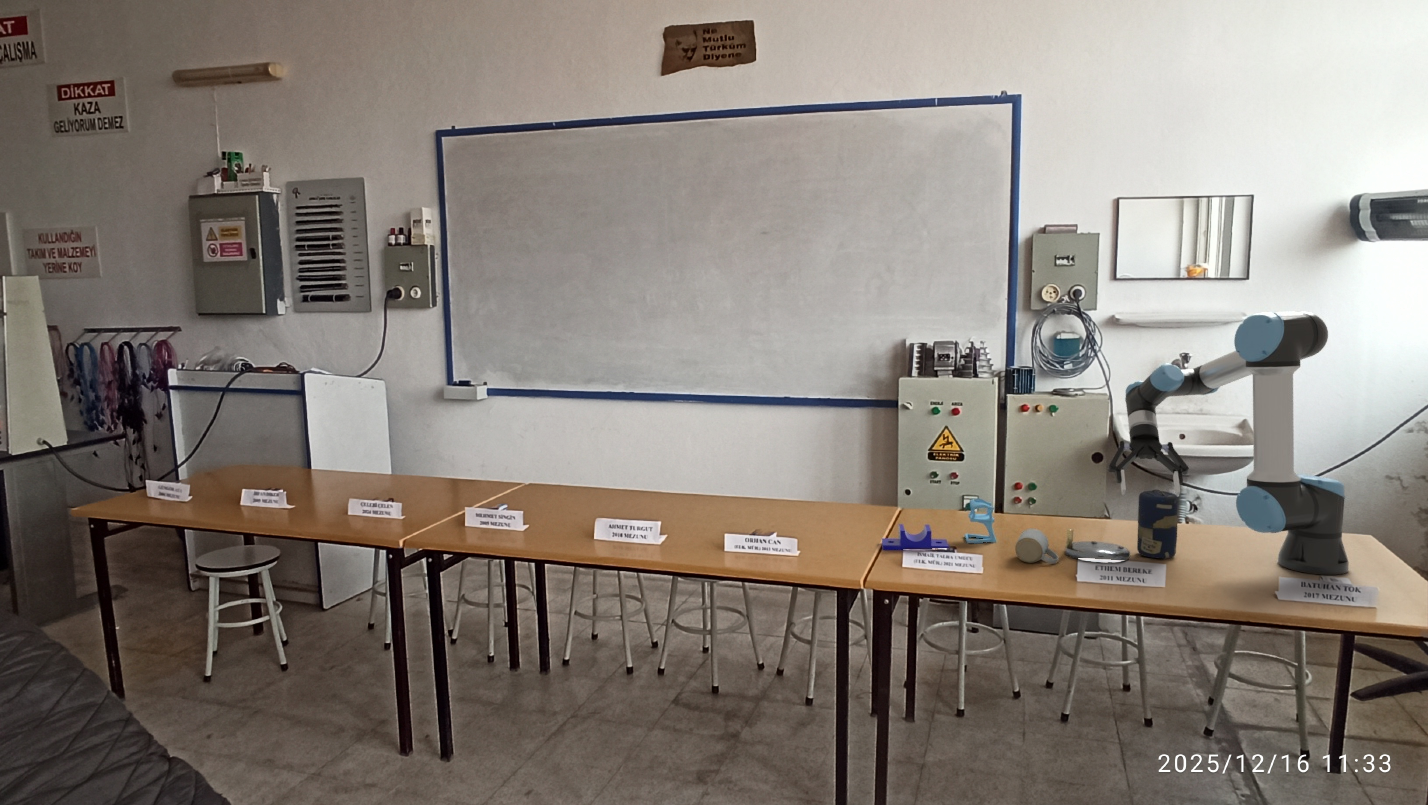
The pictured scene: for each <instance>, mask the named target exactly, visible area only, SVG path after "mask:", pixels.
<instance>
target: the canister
mask: <svg viewBox="0 0 1428 805" xmlns="http://www.w3.org/2000/svg"><path fill="white" fill-rule="evenodd" d="M1178 506H1179V497H1177V495H1175V493H1173V492H1170V491H1164V490H1160V489H1152V490H1146V491H1141V492H1140V493H1139V494H1138V511H1137V512H1138V513H1137V514H1138V515H1137V518H1138V519H1137V544H1136V545H1137V547H1136V548H1137V549H1136V550H1137V552H1138V553H1139V554H1140V555H1141V556H1144V557H1147V558H1150V559H1169V558H1172V557H1175V556H1176V553H1177V542H1178V522H1179V521H1178V518H1179V516H1178V513H1179V511H1178V510H1179V507H1178Z"/></svg>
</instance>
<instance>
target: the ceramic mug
mask: <svg viewBox="0 0 1428 805" xmlns="http://www.w3.org/2000/svg"><path fill="white" fill-rule="evenodd" d="M1049 543H1050V542H1049V540H1048V537H1047V535H1046V534H1045V533H1044V532H1043V531H1042V530H1039V529H1036V528H1028V529H1026V530H1024V531H1023V532H1021V533H1020V535H1019V537H1018V539H1017V541H1016V543H1015V547H1014V549H1015V554H1016V556H1017V558H1018V559H1019V560H1021V561H1022V562H1024V563H1027V564H1028V563H1029V564H1033V563H1036V562H1039V561H1040V560H1042V561H1043V562H1045V563H1048V564H1052V565H1055V564H1056V563H1057V562H1058V560H1059V555H1058V554H1057V553H1056V552H1055V551H1053V550H1052V549H1050V548H1049V546H1050V545H1049Z"/></svg>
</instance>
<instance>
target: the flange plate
mask: <svg viewBox="0 0 1428 805" xmlns="http://www.w3.org/2000/svg"><path fill="white" fill-rule="evenodd" d="M1130 554H1131V552H1130V550H1129V549H1128V548H1126V547H1124V546H1121V545H1119V544H1114V543H1110V542H1104V541H1095V540H1092V541H1090V540H1089V541H1086V540H1084V541H1074V529H1072V528H1067V529H1066V544H1065V555H1066V556H1068V557H1069V558H1071V559H1073V560H1077V559H1078V558H1095V559H1111V560H1127V559H1128V558H1129V557H1130V558H1131V555H1130ZM1130 558H1129V559H1130ZM1127 561H1128V560H1127Z"/></svg>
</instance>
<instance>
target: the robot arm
mask: <svg viewBox="0 0 1428 805" xmlns="http://www.w3.org/2000/svg"><path fill="white" fill-rule="evenodd" d="M1328 339H1329V330H1328V327H1327V325H1326V323H1325V322H1324V320H1323V319H1322V318H1320V317H1319V316H1318V315H1316V314H1314V313H1313V312H1309V311H1304V310H1303V311H1302V310H1300V311H1298V310H1297V311H1267V312H1260V313H1254V314H1251V315H1249V316H1247V317H1246V318H1245V319H1243V321H1242V322H1241V323H1240V324H1239V325H1238V327H1237V329H1236V331H1235V335H1234V341H1233V342H1234V343H1233V344H1234V349H1235V350H1234V351H1232V352H1228V353H1227V354H1224V355H1223V356H1220V357H1217V358H1215V359H1213V360H1209V361H1208V362H1205V363H1204V364H1202V365H1199V366H1196V367H1194V368H1185V369H1184V368H1183V369H1181V368H1180V367H1178V365H1176V364H1172V363H1168V362H1167V363H1163V364H1161V365H1160V366H1159V367H1157V368H1156V369H1154V370H1153V371H1152V372H1151V374H1149V376H1147V377H1146V378H1145V380H1142V381H1141V380H1139V381H1138V380H1137V381H1134V383H1130V384H1128V385H1127V387H1126V388H1125V398H1124V401H1125V405H1126V406H1125V407H1126V414H1127V422H1128V430H1129V432H1128V433H1129V434H1128V435H1129V442H1130V443H1126V442H1125V441H1123V440H1121V441H1119V443H1118V449H1117V451H1116V452H1115V454H1114V456H1113V458H1112V460H1111V461H1110V464H1109V465H1108V469H1107V470H1108V472H1109V473H1114V475H1115V479H1116V481H1115V482H1116V483H1117V484H1120V489H1121V495H1122V496H1125V495H1126V491H1127V486H1126V485H1127V484H1126V476H1125V469H1127V467H1128V466H1129V465H1130V464H1131V463H1133V461H1136V459H1137V458H1139V459H1140V460H1145V459H1148V460H1153V459H1154V460H1156V462H1159V463H1160V464H1161V465H1163V466H1164V467H1165V468H1166V469H1168V470H1169V471H1170V472H1172V473H1173V475H1172V479H1173V486H1174V487H1173V488H1174V494H1175V495H1177V497H1178V498H1179V496H1180V495H1181V487H1180V486H1182V485H1183V483H1184V482H1183V481H1184V479H1183V475H1188V472H1189V466H1188V465H1187V463H1186V462H1185V461H1184V460H1183V458H1182V457H1181V456H1180V455H1179V453H1178V452H1177V451H1176V450H1175V448H1174V445H1173V443H1172V442H1171V441H1169V442H1167V443H1166V444H1162V443H1161V442H1160V436H1159V435H1160V434H1159V429H1158V428H1159V426H1158V420H1157V412H1156V411H1157V410H1156V409H1157V407H1158V406H1159V405H1161V404H1162V402H1164V401H1165V400H1166V399H1167V398H1169V397H1182V396H1183V397H1184V396H1197V395H1198V396H1199V395H1200V396H1206V395H1209V394H1213V393H1216V392H1217V391H1218V390H1219V389H1220V388H1221V387H1223V386H1225V385H1228V384H1231V383H1233V382H1236V381H1239V380H1241V379H1243V378H1246V377H1248V376H1252V430H1253V432H1252V435H1253V436H1252V437H1253V439H1252V442H1253V447H1252V448H1253V449H1252V450H1253V451H1252V453H1253V454H1252V456H1253V457H1252V458H1253V470H1252V471H1251V472H1250V473H1249V474H1248V475H1247V476H1246V487H1244V488H1242V489H1241V490H1240V491H1239V492H1238V493H1237V495H1236V500H1235V501H1236V502H1235V506H1236V511H1237V514H1238V516H1239V517H1240V520H1241V521H1242V522H1244V524H1245V526H1247V527H1248V528H1249V529H1250V530H1253V531H1255V532H1257V533H1262V534H1263V533H1264V534H1268V533H1269V534H1277V533H1278V534H1279V533H1280V532H1286V534H1287V535H1286V537H1285V538H1284V541H1283V543H1282V546H1281V548H1280V550H1279V551H1278V557H1277V563H1278V564H1279V566H1281V567H1283V568H1285V569H1289V570H1292V571H1295V572H1299V573H1300V572H1301V573H1305V574H1314V575H1325V576H1326V575H1328V576H1331V575H1332V576H1333V575H1342V574H1343V575H1344V574H1346V573H1348V572H1349V567H1350V566H1349V563H1350V562H1349V559H1348V557H1347V552H1346V549H1345V546H1344V543H1343V525H1344V511H1345V510H1344V509H1345V499H1346V496H1345V485H1344V484H1343V482H1342V481H1339V480H1337V479H1335V478H1334V479H1333V478H1328V477H1325V476H1323V477H1322V476H1317V475H1316V476H1315V475H1308V474H1302V473H1301V474H1298V473H1296V472H1295V468H1294V467H1295V465H1294V463H1295V461H1294V460H1295V459H1294V458H1295V457H1294V456H1295V454H1294V450H1295V447H1294V443H1295V442H1294V440H1295V439H1294V438H1295V437H1294V434H1295V433H1294V432H1295V431H1294V374H1295V372H1296V371H1298V370H1299V369H1300V368H1301V361H1302V360H1304V359H1308V358H1311V357H1313V356H1315V355H1317V354H1318V353H1320V352H1321V351H1322V350H1323V349H1324V348H1325V347H1326V344H1327V342H1328ZM1128 449H1129V450H1130V451H1131V452H1130V453H1129V454H1128V455H1126V457H1125V458H1124V459H1123V460H1122V461H1121V462H1120V463H1119V461H1120V460H1121V457H1122V456H1123V453H1124V452H1126V451H1127V450H1128ZM1162 450H1163V451H1164V452H1165V453H1167V455H1168V456H1169V457H1168V456H1167V455H1165V454H1164V452H1163V451H1162ZM1118 463H1119V464H1118Z"/></svg>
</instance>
